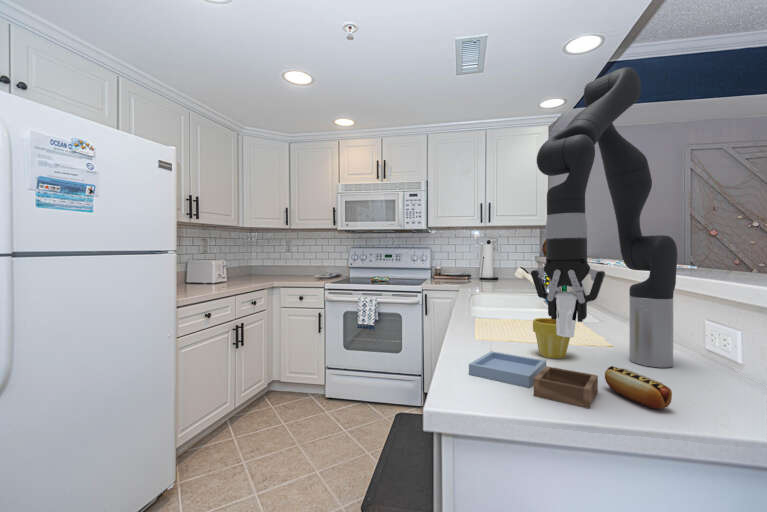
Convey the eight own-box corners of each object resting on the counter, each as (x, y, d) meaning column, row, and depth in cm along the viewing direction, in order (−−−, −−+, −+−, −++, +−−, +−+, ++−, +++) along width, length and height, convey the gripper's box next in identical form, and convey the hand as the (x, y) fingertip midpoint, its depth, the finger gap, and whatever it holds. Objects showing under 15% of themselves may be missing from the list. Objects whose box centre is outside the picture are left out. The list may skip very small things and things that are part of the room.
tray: (491, 360, 97) (491, 351, 97) (546, 370, 89) (546, 360, 89) (468, 374, 86) (468, 364, 86) (529, 387, 78) (529, 376, 78)
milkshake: (585, 339, 71) (587, 289, 71) (556, 337, 72) (558, 287, 72) (577, 333, 76) (579, 286, 75) (550, 332, 77) (552, 285, 76)
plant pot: (575, 353, 103) (575, 319, 103) (571, 363, 95) (571, 325, 95) (536, 348, 109) (536, 316, 109) (529, 357, 100) (529, 322, 100)
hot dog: (654, 415, 65) (654, 388, 64) (597, 388, 78) (597, 365, 78) (677, 413, 65) (677, 386, 65) (617, 386, 78) (618, 363, 78)
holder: (546, 381, 81) (546, 366, 81) (597, 392, 75) (597, 375, 75) (533, 395, 73) (533, 378, 73) (589, 408, 67) (589, 390, 67)
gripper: (609, 235, 72) (609, 320, 73) (534, 238, 81) (535, 314, 81) (604, 234, 66) (605, 327, 67) (524, 237, 75) (525, 319, 75)
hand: (566, 319), depth 74 cm, fingers closed on milkshake, 4 cm apart
